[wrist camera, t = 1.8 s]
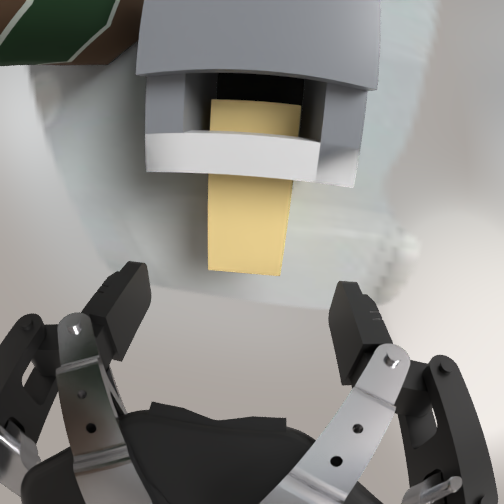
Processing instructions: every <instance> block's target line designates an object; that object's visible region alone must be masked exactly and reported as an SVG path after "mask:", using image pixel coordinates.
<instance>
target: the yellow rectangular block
mask: <svg viewBox="0 0 504 504" xmlns="http://www.w3.org/2000/svg"><path fill="white" fill-rule="evenodd" d="M300 113H301V106H300V105H292V104H284V103H274V102H262V101H247V100H219V99H211V117H210V131H235V132H251V133H264V134H275V135H285V136H294V137H298V133H299V123H300ZM292 185H293V180H288V179H278V178H268V177H256V176H243V175H228V174H210V173H208V270H217V271H227V272H238V273H250V274H261V275H273V276H280V273H281V266H282V259H283V253H284V246H285V238H286V231H287V224H288V216H289V209H290V201H291V193H292Z"/></svg>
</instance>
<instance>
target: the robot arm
mask: <svg viewBox="0 0 504 504" xmlns="http://www.w3.org/2000/svg"><path fill="white" fill-rule="evenodd" d="M150 302H151V289H150V283H149V276H148V270H147V265H146V264H145V263H140V262H131V261H128V262H127V263H126V264H125V266H124V267H123V268H122V270H121V271H120V272H119V271H117V272H115V273H114V274H112V275H111V276H109V277H108V278H107V279H106V280H105V281H104V283H103V284H102V286H101V287H100V288H99V289H98V290H97V292H96V293H95V294H94V296H93V297H92V298H91V300H90V301H89V302H88V303H87V305H86V306H85V308H84V309H83V310H82V312H81V313H72V314H69V315H67V316H66V317H64V318H63V319H62V320H61V321H60V322H59V324H56V325H44V323H43V321H42V319H41V317H40V316H39V315H37V314H27V315H24V316H23V317H21V318H20V319H19V320H18V321H17V322H16V323H15V325H14V326H13V327H12V329H11V330H10V332H9V333H8V335H7V336H6V337H5V339H4V340H3V341H2V343H1V344H0V483H1V484H3V485H4V486H5V487H7V488H8V489H10V490H11V491H12V492H14V493H15V494H17V495H18V496H20V497H21V501H22V504H383V503H382V502H381V501H379V500H378V499H377V498H376V497H375V496H374V495H372V494H371V493H370V492H369V491H368V490H367V489H366V488H365V487H364V486H363V485H361V484H360V483H359V482H358V479H359V478H360V476H361V474H362V473H363V471H364V470H365V468H366V466H367V465H368V463H369V461H370V460H371V458H372V456H373V454H374V453H375V451H376V449H377V447H378V445H379V443H380V441H381V440H382V438H383V436H384V434H385V432H386V430H387V428H388V426H389V424H390V421H391V419H392V417H393V415H394V413H396V414H398V418H399V423H400V428H401V433H402V439H403V444H404V450H405V456H406V462H407V468H408V476H409V484H410V489H408V490H407V492H406V493H405V495H404V497H403V500H402V503H401V504H497V503H498V494H497V488H496V483H495V478H494V473H493V468H492V464H491V460H490V456H489V452H488V448H487V445H486V441H485V438H484V434H483V431H482V428H481V425H480V422H479V419H478V416H477V413H476V410H475V408H474V405H473V402H472V400H471V397H470V394H469V392H468V389H467V387H466V384H465V382H464V379H463V377H462V375H461V372H460V370H459V368H458V366H457V364H456V363H455V362H454V361H453V360H452V359H451V358H449V357H447V356H444V355H436V356H434V357H433V358H432V359H431V361H430V362H429V363H428V364H426V363H421V362H417V361H412V360H410V357H409V355H408V354H407V352H406V351H405V350H404V349H403V348H401V347H399V346H397V345H394V344H393V342H392V340H391V337H390V335H389V333H388V330H387V328H386V326H385V324H384V321H383V320H382V317H381V314H380V313H379V310H378V308H377V306H376V303H375V302H374V301H373V300H372V299H371V298H370V297H369V296H368V295H366V294H362V292H361V290H360V288H359V285H358V283H357V282H347V281H339V282H338V284H337V286H336V290H335V293H334V297H333V300H332V304H331V307H330V310H329V327H330V331H331V336H332V340H333V344H334V349H335V354H336V359H337V363H338V368H339V373H340V378H341V383H342V385H352V390H351V392H350V394H349V395H348V397H347V398H346V400H345V401H344V403H343V404H342V406H341V407H340V409H339V410H338V411H337V413H336V414H335V416H334V417H333V419H332V420H331V421H330V423H329V424H328V426H327V427H326V429H325V430H324V431H323V432H322V434H321V435H320V436H319V437H318V439H317V440H314V439H313V438H312V437H310V436H309V435H307V434H305V433H303V432H301V431H299V430H296V429H293V428H290V427H286V418H271V417H245V418H237V419H228V420H213V419H210V418H207V417H205V416H202V415H199V414H197V413H194V412H192V411H189V410H187V409H185V408H181V407H176V406H170V405H165V404H160V403H156V402H152V403H151V406H150V409H149V410H142V411H135V412H131V413H127V411H126V409H125V407H124V405H123V402H122V400H121V397H120V394H119V391H118V389H117V386H116V383H115V380H114V377H113V374H112V371H111V368H110V366H109V364H110V362H111V360H112V359H114V360H117V361H122V360H123V358H124V356H125V354H126V352H127V350H128V348H129V346H130V344H131V342H132V340H133V338H134V335H135V333H136V331H137V329H138V327H139V325H140V324H141V321H142V320H143V318H144V316H145V314H146V312H147V310H148V308H149V306H150ZM30 361H32V363H33V364H34V366H35V367H34V369H33V370H32V372H31V374H30V376H29V378H28V380H27V382H26V384H25V385H24V387H23V385H22V376H23V374H24V372H25V370H26V369H27V367H28V365H29V363H30ZM57 392H59V398H60V404H61V409H62V414H63V419H64V423H65V427H66V431H67V435H68V439H69V443H70V447H68V448H66V449H65V450H63V451H61V452H59V453H58V454H56V455H54V456H52V457H50V458H48V459H46V460H44V461H43V462H41V459H40V457H39V456H38V450H37V446H36V443H37V441H38V438H39V435H40V433H41V430H42V427H43V425H44V423H45V420H46V418H47V415H48V413H49V410H50V408H51V406H52V404H53V401H54V399H55V397H56V394H57ZM432 408H433V410H434V413H435V416H436V420H437V427H436V423H435V419H434V416H433V412H432Z"/></svg>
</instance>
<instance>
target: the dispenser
mask: <svg viewBox="0 0 504 504" xmlns="http://www.w3.org/2000/svg"><path fill="white" fill-rule="evenodd" d="M380 33H381V3H380V0H144V4H143V10H142V17H141V24H140V32H139V40H138V50H137V61H136V75H139V76H145V77H147V79H146V102H145V157H146V172H184V173H210V174H228V175H243V176H256V177H268V178H278V179H288V180H297V181H306V182H314V183H322V184H329V185H337V186H344V187H350V188H354V182H355V177H356V171H357V165H358V160H359V153H360V147H361V140H362V133H363V126H364V118H365V110H366V101H367V91H373V90H377V85H378V73H379V58H380ZM218 73H250V74H265V75H277V76H286V77H295V78H302V79H304V90H303V101H302V111H301V121H300V131H299V137H294V136H285V135H275V134H264V133H251V132H235V131H210V117H211V99H217V87H218Z"/></svg>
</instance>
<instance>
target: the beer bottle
mask: <svg viewBox="0 0 504 504" xmlns="http://www.w3.org/2000/svg"><path fill="white" fill-rule="evenodd" d="M143 4H144V0H0V66H10V65H108V64H109V63H110V62H112V61H113V60H114V59H115V58H116V57H118V56H119V55H120V54H121V53H122V52H124V51H125V50H126V49H127V48H129V47H130V46H131V45H133V44H134V43H135V42H137V41H138V40H139V32H140V24H141V17H142V10H143Z"/></svg>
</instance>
